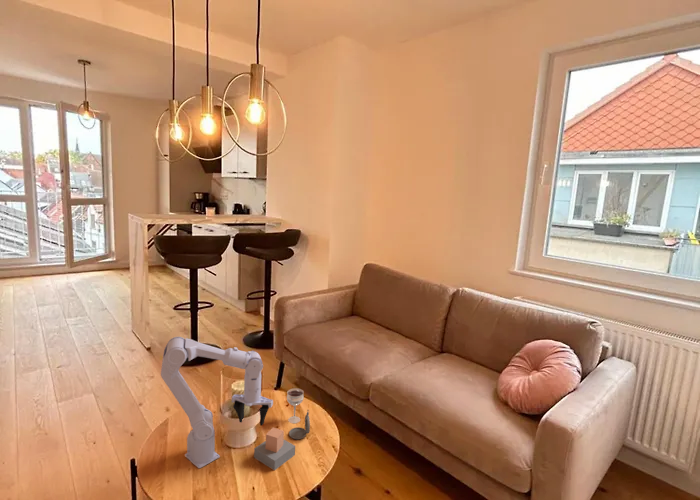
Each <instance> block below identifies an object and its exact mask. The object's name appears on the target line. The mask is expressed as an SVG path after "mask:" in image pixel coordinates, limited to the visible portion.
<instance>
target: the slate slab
mask: <svg viewBox="0 0 700 500" xmlns="http://www.w3.org/2000/svg"><path fill="white" fill-rule="evenodd" d="M265 447H266V440H265V441H263V442H262V443H260V444H259V445H257V446H256V447H254V449H253V451H254V452H253V457H254V459H256V461H258V462H260V463H262V464H263V465H265V466H266V467H268V468H270V469H271V470H273V471H276V470H277V469H279V468H280V467H281V466H283V465H284V464H285V463H286V462H288V461H289V460H291V459H292V458H293V457H294V456H295V455H296V445H294V444H293V443H291V442H289V441H287V440H286V439H284V441H283V446H282V447H281V448H280V449H279V451H278V452H277V453H276V452H273V451H270V450H267V449H265Z"/></svg>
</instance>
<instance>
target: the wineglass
mask: <svg viewBox="0 0 700 500" xmlns="http://www.w3.org/2000/svg"><path fill="white" fill-rule="evenodd" d="M304 393H305V392H304V390H303V389H301V388H296V387H295V388H290V389H288V390H287V392H286V394H287V395H286V400H287V402H288V403H289V405H291V406H293V416H290V417H289V418H288V419H287V420H288V422H289V423H291V424H298V423H299V422H301V418H300V417H299V416H296V408H297V406H299V405H300V404H301V403H302V402H303V401H304V398H305V397H304Z"/></svg>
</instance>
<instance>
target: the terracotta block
mask: <svg viewBox="0 0 700 500" xmlns="http://www.w3.org/2000/svg"><path fill="white" fill-rule="evenodd" d="M284 437H285V431H284V430H283V429H279V428H277V427H272V428H271V429H269V430H268V431H267V433H266V434H265V441H266V447H265V449H267V450H270V451H273V452H276V453H277V452H278V451H279V449H280V448H281V447H282V446H283V441H284V440H285V439H284Z"/></svg>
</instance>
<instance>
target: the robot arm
mask: <svg viewBox="0 0 700 500" xmlns="http://www.w3.org/2000/svg"><path fill="white" fill-rule="evenodd" d="M197 357H200V358H207V359H211V360H218V361H221V362H222V363H223V365H224V366H229V367H233V368H237V369H241V370H244V376H243V377H244V379H243V381H244V382H243V383H244V385H243V387H244V388H243V390H244V391H243V394H233V395H232V396H231V403H234V404H233V406H232V407H233V409H234V411H235V413H236V415H237V418H238V421H239V423H243V421H242V419H243V418H245V406H246V407H252V406H261V407H260V408H259V411H258V412H259V418H260V419H259V425H260V426H263V425H264V423H265V420H266V419H265V418H266V417H267V413H268V411H269V409H271V408H272V407H273V405H274V399H270V398H267V397H265V396H262V370H263V368H264V364H263V361H262V358H261V355H260V353H258V352H257V351H255V350H251V351H249V350H248V351H244V350H239V349H238V347H235V346H233V348H232V347H228V348H226V349H221V348H219V347H216V346H211V345H209V344H207V343H206V344H205V343H202V342H199V341H196V340H194V339H192V338H187V337H185V338H184V337H182V336H173V337H171V338H170V339H169V340H168V341H167V343H166V346H165V347H164V351H163V357H162V363H161V369H160V376H161V377H160V378H161V379H162V380H163V383H165V384H166V386H167V387H168V390H170V392H171V393H172V395H173V396H174V398H175V399H176V401H177V402H178V404H179V405H180V407H181V408H182V409H183V412H184V413H185V414H186V415H187V418H188V421H189V423H190V426H191V428H192V429H191V430H190V432H188V434H187V437H186V449H187V451H186V453H185V454H184V457H186V459H187V460H188V461H189V462H191V463H192V464H193V465H194V466H195V467H197V468H198V469H201V468H203V467H205V466H207V465H208V464H210V463H212V462H213V461H216V460H217V459H219V458H220V457H221V456H220V454H218V453H217V452H216V451H215V449H216V447H215V439H216V436H215V435H216V433H215V427H214V422H213V421H214V420H213V419H214V414H213V412H212V411H211V410H209V409H207V408H206V407H205V405H204V404H201V402H200V401H199V399H198V398H197V397H196V395H195V393H194V392H193V390H192V389H191V387H190V386H189V383H187V381H186V380H185V378H184V376H183V375H182V374H181V372H180V368H181V366H182V365H183V364H185V362H186V361H187V359H188V362H190V361H191V360H193V359H196V358H197Z"/></svg>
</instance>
